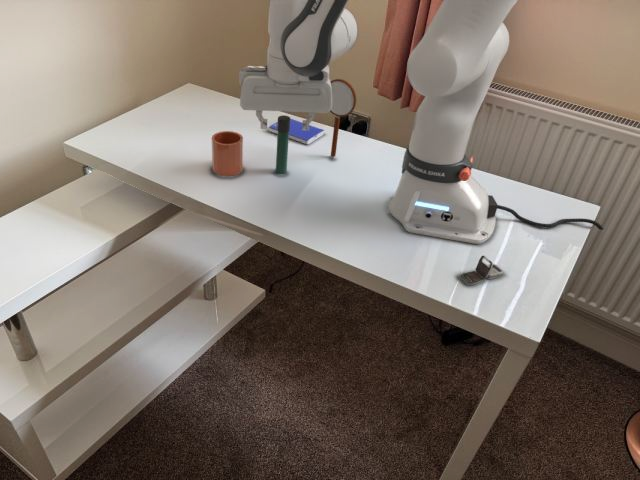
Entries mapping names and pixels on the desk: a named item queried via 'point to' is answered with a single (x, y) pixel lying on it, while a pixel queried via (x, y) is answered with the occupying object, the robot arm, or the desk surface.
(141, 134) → the desk surface
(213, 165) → the pen holder
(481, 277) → the strap clip
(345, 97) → the magnifying glass
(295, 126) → the hard drive
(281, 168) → the marker
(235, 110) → the desk surface
